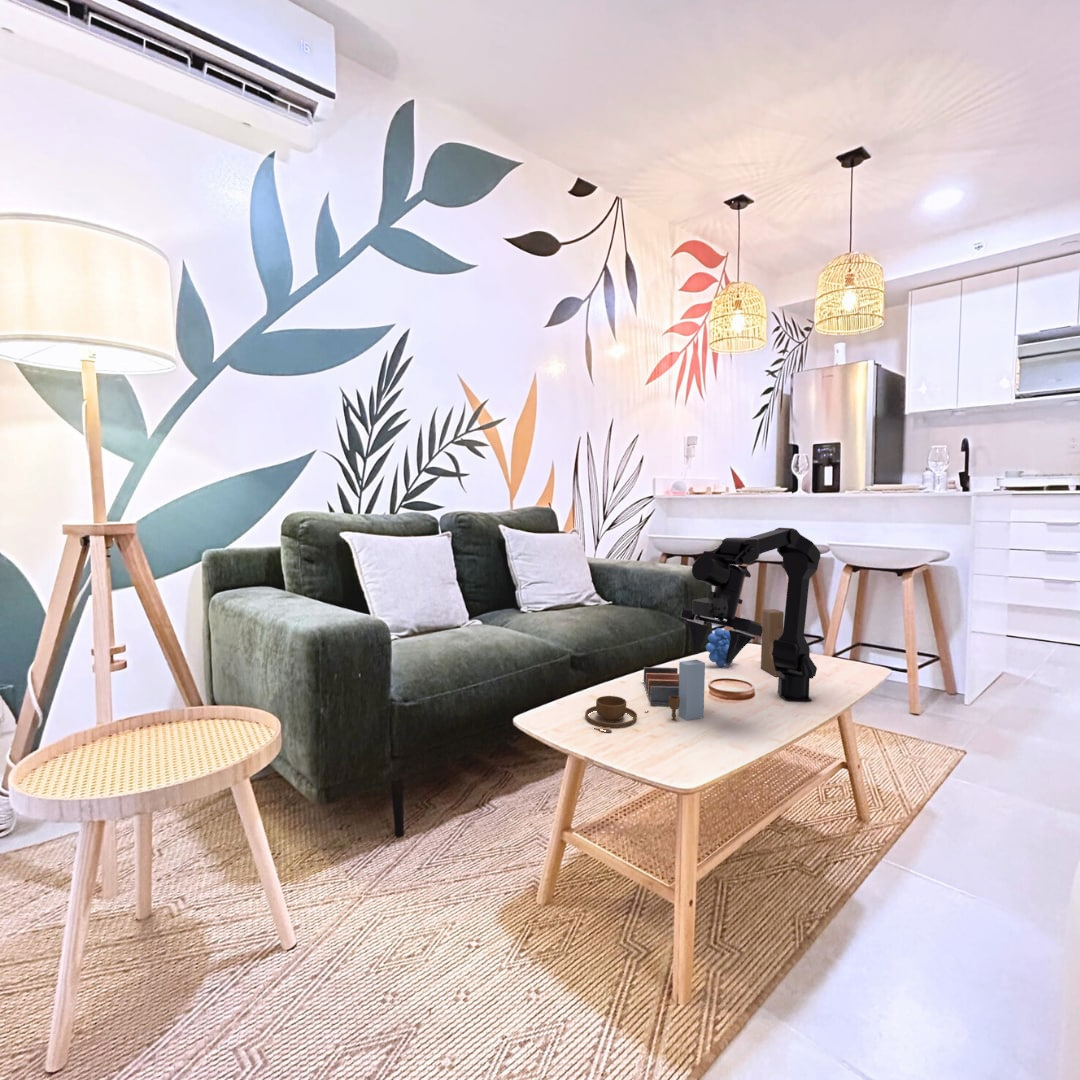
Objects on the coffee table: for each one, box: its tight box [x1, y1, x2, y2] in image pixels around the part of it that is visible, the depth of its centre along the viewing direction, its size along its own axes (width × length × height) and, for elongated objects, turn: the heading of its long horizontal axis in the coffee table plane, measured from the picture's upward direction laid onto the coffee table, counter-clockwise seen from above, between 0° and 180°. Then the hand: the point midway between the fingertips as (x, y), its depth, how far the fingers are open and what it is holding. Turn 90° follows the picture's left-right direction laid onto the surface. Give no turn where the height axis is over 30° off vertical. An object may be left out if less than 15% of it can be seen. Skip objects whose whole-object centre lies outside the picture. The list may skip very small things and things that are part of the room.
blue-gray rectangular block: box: [677, 659, 706, 722], centre depth 141 cm, size 5×3×13 cm, turn 115°
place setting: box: [584, 695, 680, 734], centre depth 138 cm, size 18×20×6 cm
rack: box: [642, 666, 679, 708], centre depth 158 cm, size 9×19×4 cm, turn 176°
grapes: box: [705, 627, 734, 668], centre depth 182 cm, size 12×7×12 cm, turn 115°
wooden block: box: [760, 608, 785, 678], centre depth 176 cm, size 9×4×18 cm, turn 8°
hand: (711, 658), depth 136 cm, fingers open, 9 cm apart
